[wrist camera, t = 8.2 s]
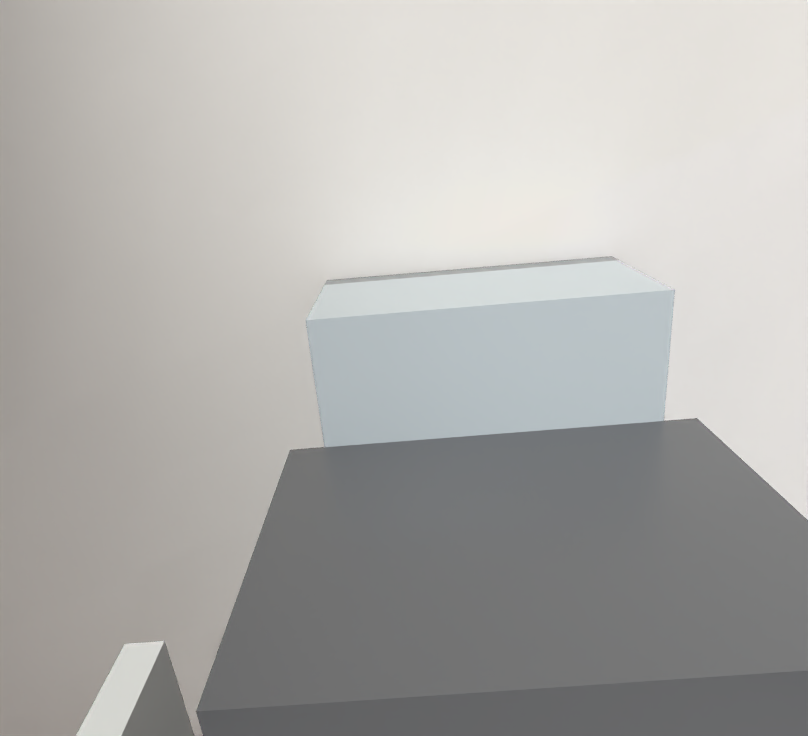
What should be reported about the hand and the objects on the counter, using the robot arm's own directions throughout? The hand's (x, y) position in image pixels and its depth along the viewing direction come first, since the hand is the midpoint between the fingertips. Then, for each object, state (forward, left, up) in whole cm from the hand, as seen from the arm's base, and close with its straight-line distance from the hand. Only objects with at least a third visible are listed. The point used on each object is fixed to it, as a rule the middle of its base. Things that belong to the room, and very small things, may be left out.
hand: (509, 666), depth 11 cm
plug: (0, 0, -4) cm, 4 cm away
